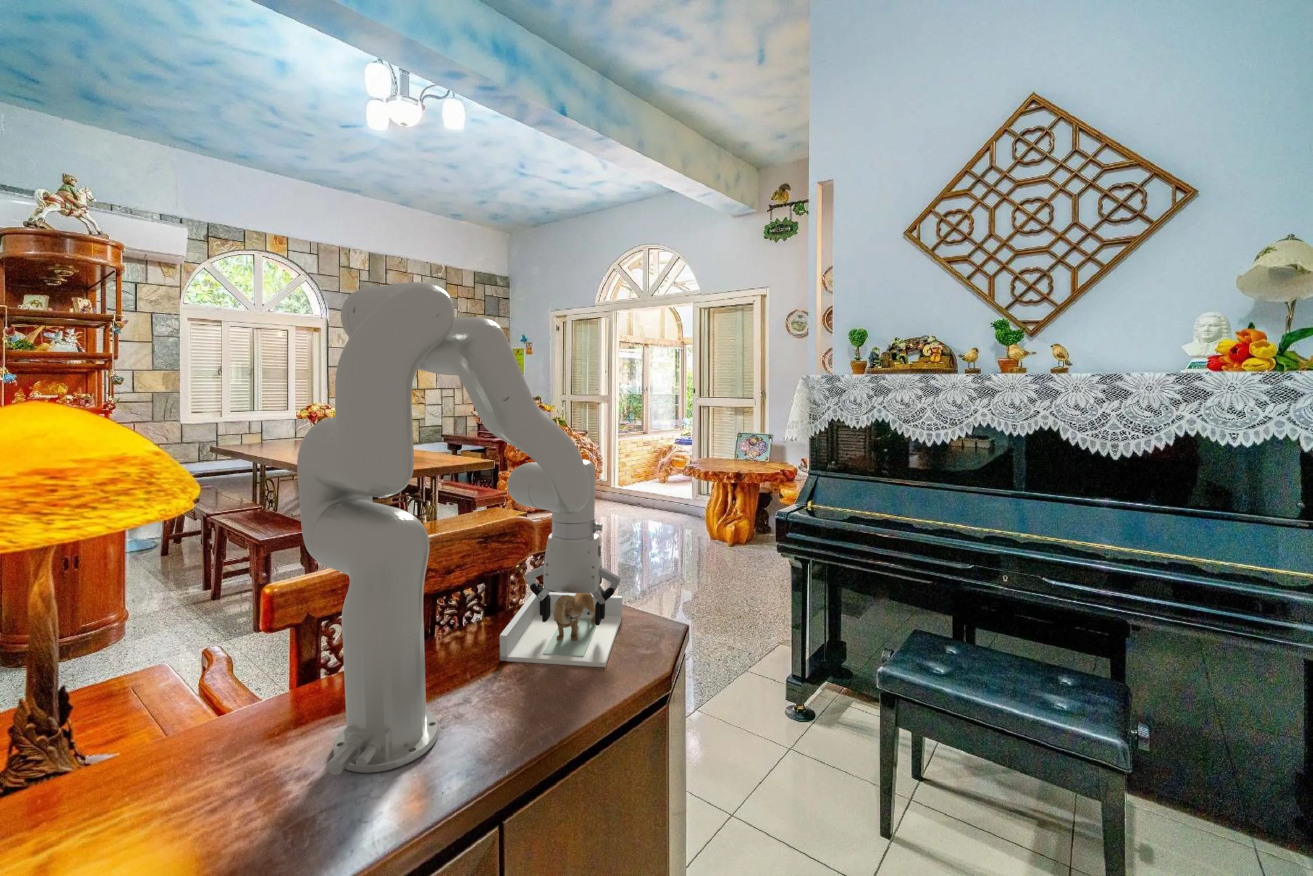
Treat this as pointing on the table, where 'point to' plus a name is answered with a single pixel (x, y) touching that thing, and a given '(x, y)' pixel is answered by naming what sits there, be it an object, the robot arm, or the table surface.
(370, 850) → the table surface
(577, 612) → the lion figurine
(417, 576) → the robot arm
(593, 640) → the tray
